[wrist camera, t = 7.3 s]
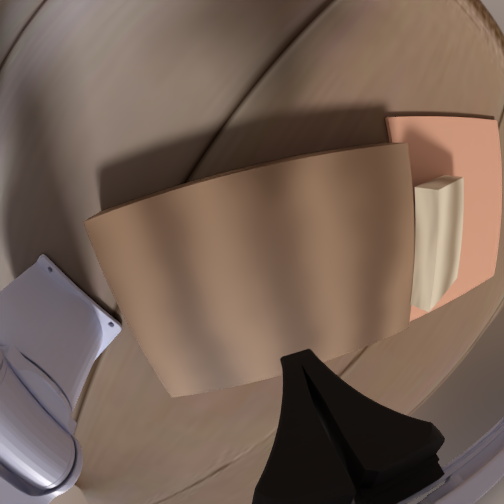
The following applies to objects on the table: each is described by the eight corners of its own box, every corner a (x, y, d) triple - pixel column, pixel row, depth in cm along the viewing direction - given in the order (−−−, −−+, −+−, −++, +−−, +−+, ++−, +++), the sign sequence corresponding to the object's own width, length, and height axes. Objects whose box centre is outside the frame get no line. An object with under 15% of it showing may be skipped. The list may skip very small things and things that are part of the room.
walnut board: (174, 374, 23) (171, 397, 20) (100, 211, 17) (83, 221, 15) (392, 311, 24) (408, 327, 21) (384, 142, 18) (407, 142, 15)
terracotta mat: (395, 325, 25) (397, 327, 24) (384, 117, 18) (387, 117, 17) (491, 274, 26) (493, 275, 25) (494, 120, 18) (496, 120, 18)
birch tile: (410, 304, 20) (428, 312, 19) (414, 186, 17) (438, 190, 15) (441, 272, 23) (457, 277, 21) (444, 174, 19) (463, 177, 18)
